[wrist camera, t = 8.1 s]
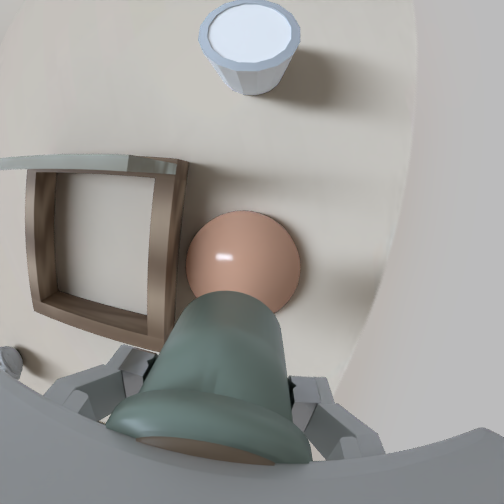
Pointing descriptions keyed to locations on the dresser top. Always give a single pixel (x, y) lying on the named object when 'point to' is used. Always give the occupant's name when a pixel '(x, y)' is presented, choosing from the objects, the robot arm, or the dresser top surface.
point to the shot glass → (250, 44)
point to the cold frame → (160, 244)
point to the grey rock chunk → (11, 361)
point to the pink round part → (244, 258)
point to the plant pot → (218, 388)
